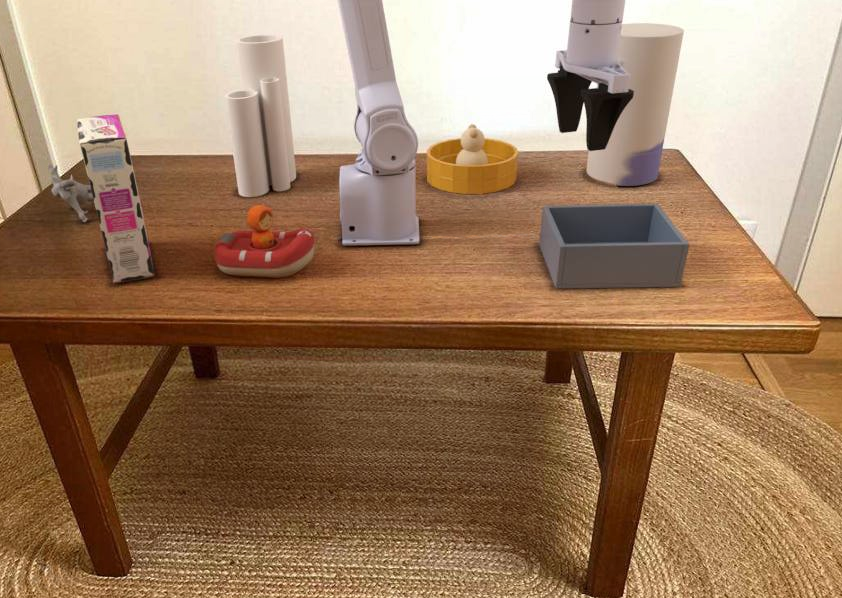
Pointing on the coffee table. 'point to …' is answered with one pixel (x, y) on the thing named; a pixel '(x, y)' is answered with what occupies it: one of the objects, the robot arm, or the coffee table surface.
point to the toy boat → (264, 248)
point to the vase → (261, 117)
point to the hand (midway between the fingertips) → (581, 140)
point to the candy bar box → (115, 197)
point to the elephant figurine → (71, 191)
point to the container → (641, 106)
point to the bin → (612, 246)
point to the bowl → (472, 168)
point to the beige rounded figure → (472, 148)
